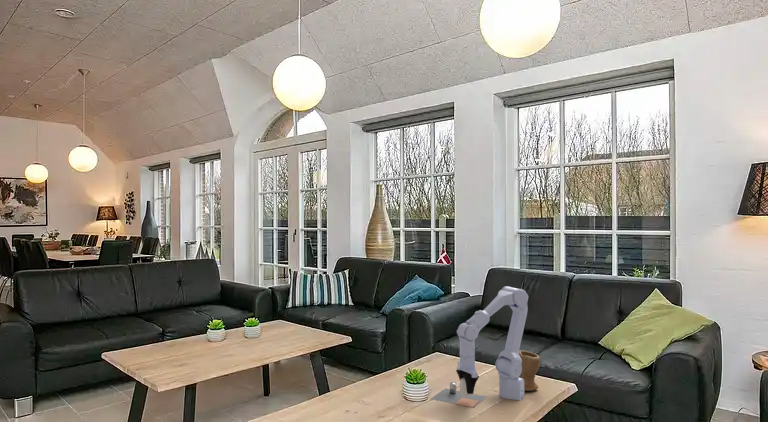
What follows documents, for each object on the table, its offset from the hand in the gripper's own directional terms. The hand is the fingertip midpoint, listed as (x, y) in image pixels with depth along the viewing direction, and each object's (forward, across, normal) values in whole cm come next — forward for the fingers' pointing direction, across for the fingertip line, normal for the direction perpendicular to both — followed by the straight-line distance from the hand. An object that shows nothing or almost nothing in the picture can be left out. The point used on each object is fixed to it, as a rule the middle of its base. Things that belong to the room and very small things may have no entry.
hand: (467, 390), depth 195 cm
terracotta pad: (+5, 0, 0) cm, 5 cm away
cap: (+1, 0, 0) cm, 1 cm away
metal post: (+5, -11, -1) cm, 12 cm away
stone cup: (+6, -15, +32) cm, 36 cm away
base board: (+6, -6, -1) cm, 8 cm away
